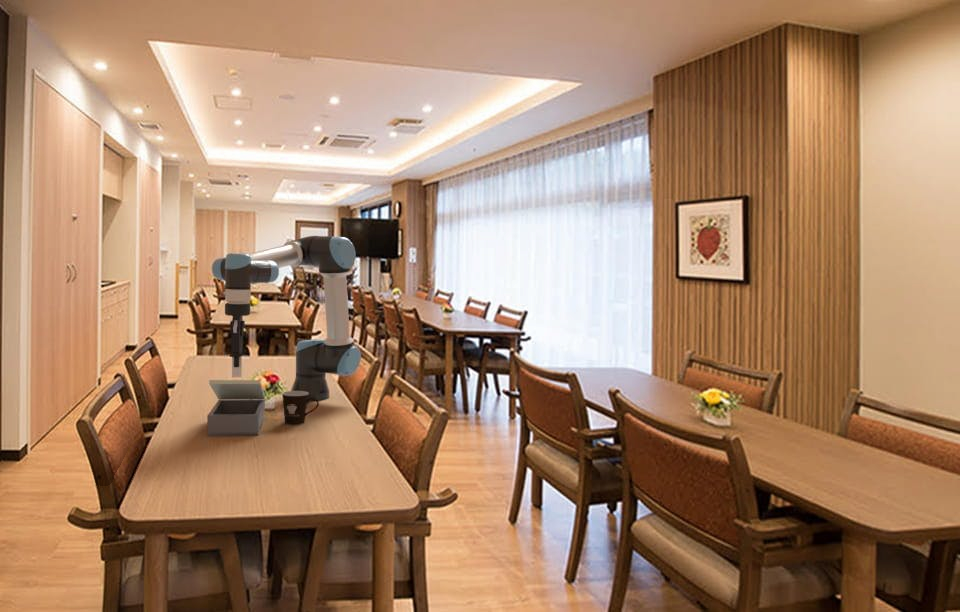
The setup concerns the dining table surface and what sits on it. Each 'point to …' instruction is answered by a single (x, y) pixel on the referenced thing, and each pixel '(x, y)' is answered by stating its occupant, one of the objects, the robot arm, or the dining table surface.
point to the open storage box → (236, 418)
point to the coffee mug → (296, 406)
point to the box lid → (238, 389)
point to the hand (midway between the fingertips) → (236, 376)
